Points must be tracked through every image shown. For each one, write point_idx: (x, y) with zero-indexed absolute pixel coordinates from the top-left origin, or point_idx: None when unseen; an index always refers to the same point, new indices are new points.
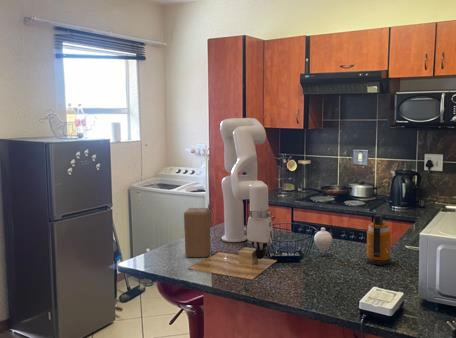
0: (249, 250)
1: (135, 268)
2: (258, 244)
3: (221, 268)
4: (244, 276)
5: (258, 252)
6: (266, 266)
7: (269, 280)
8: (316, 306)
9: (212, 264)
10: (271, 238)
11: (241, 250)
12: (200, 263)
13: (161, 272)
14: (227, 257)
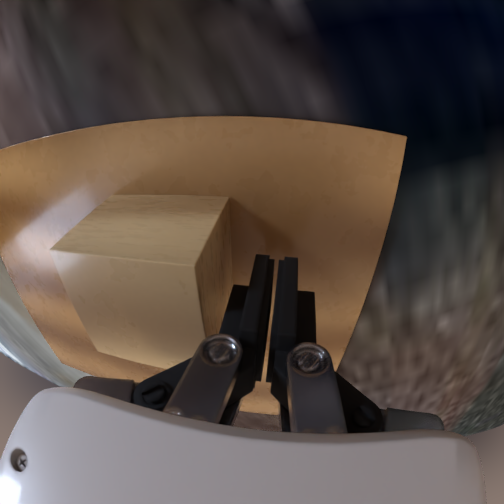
0: (149, 331)
1: (7, 354)
2: (221, 386)
3: (130, 361)
4: (273, 408)
5: (264, 356)
6: (347, 301)
7: (381, 403)
8: (468, 429)
9: (68, 326)
10: (459, 450)
11: (99, 338)
12: (37, 320)
13: (49, 376)
14: (30, 218)
